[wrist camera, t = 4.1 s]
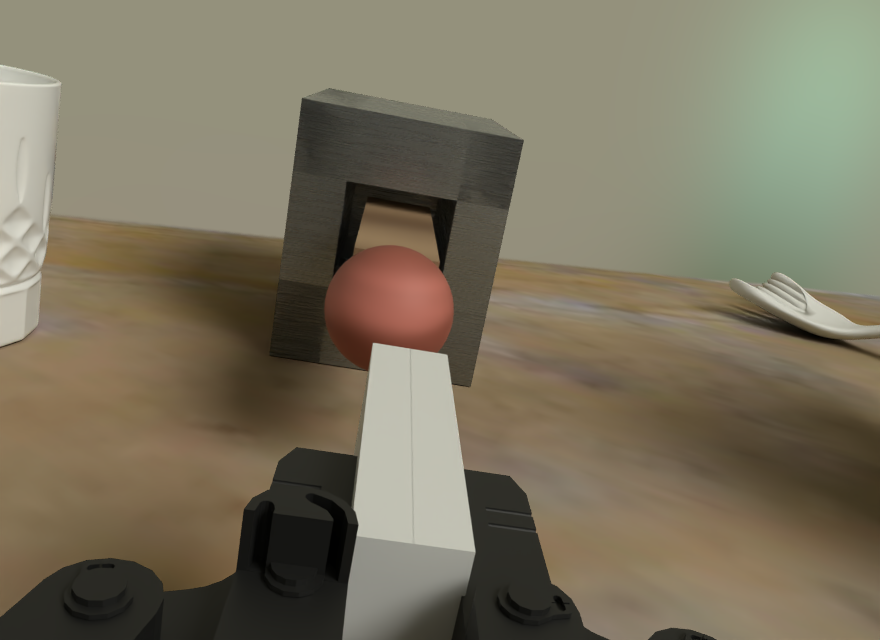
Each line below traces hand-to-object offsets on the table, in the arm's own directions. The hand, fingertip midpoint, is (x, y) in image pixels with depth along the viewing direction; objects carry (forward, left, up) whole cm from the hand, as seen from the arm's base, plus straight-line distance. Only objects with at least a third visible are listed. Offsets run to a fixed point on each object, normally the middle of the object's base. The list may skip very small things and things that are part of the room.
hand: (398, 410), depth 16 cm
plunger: (-7, +11, -3) cm, 14 cm away
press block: (-13, +20, -6) cm, 25 cm away
